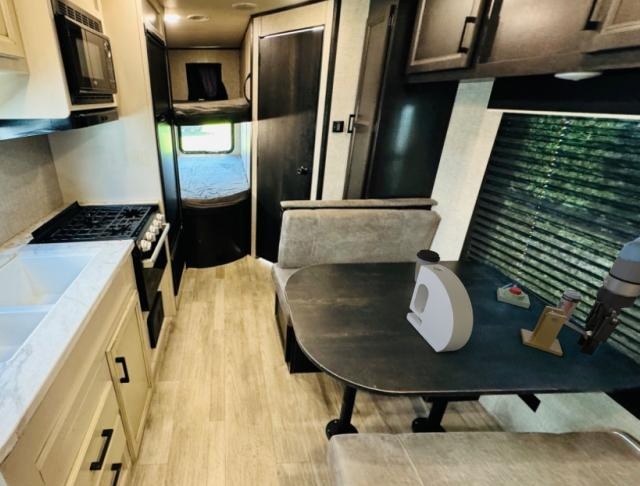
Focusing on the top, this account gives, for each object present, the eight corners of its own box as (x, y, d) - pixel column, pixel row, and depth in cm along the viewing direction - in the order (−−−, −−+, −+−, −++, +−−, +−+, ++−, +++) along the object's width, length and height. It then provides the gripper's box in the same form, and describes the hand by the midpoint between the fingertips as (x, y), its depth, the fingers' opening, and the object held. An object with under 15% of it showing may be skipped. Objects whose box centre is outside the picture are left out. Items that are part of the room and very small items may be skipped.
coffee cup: (431, 278, 149) (440, 250, 143) (433, 288, 141) (442, 260, 135) (409, 274, 153) (417, 247, 147) (410, 284, 145) (418, 255, 139)
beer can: (548, 314, 125) (561, 289, 120) (561, 314, 125) (574, 289, 120) (558, 322, 121) (572, 296, 116) (571, 322, 120) (586, 297, 115)
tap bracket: (556, 341, 111) (573, 310, 105) (561, 356, 105) (579, 323, 99) (520, 330, 116) (534, 300, 111) (522, 343, 110) (538, 312, 105)
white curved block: (422, 317, 124) (438, 261, 113) (462, 357, 105) (485, 295, 94) (406, 318, 123) (420, 263, 113) (443, 359, 104) (464, 296, 94)
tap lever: (591, 340, 104) (601, 333, 102) (594, 346, 101) (604, 340, 99) (544, 313, 109) (552, 307, 107) (545, 319, 106) (554, 312, 104)
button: (519, 291, 133) (521, 288, 132) (520, 296, 130) (522, 292, 130) (509, 289, 135) (510, 285, 134) (509, 293, 132) (511, 289, 131)
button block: (525, 298, 135) (529, 291, 133) (528, 308, 129) (531, 300, 127) (496, 291, 140) (499, 283, 138) (497, 300, 134) (501, 292, 132)
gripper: (594, 275, 103) (563, 330, 112) (610, 300, 90) (574, 360, 100) (627, 282, 99) (592, 339, 109) (649, 309, 86) (607, 370, 96)
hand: (584, 349), depth 104 cm, fingers closed on tap lever, 4 cm apart
